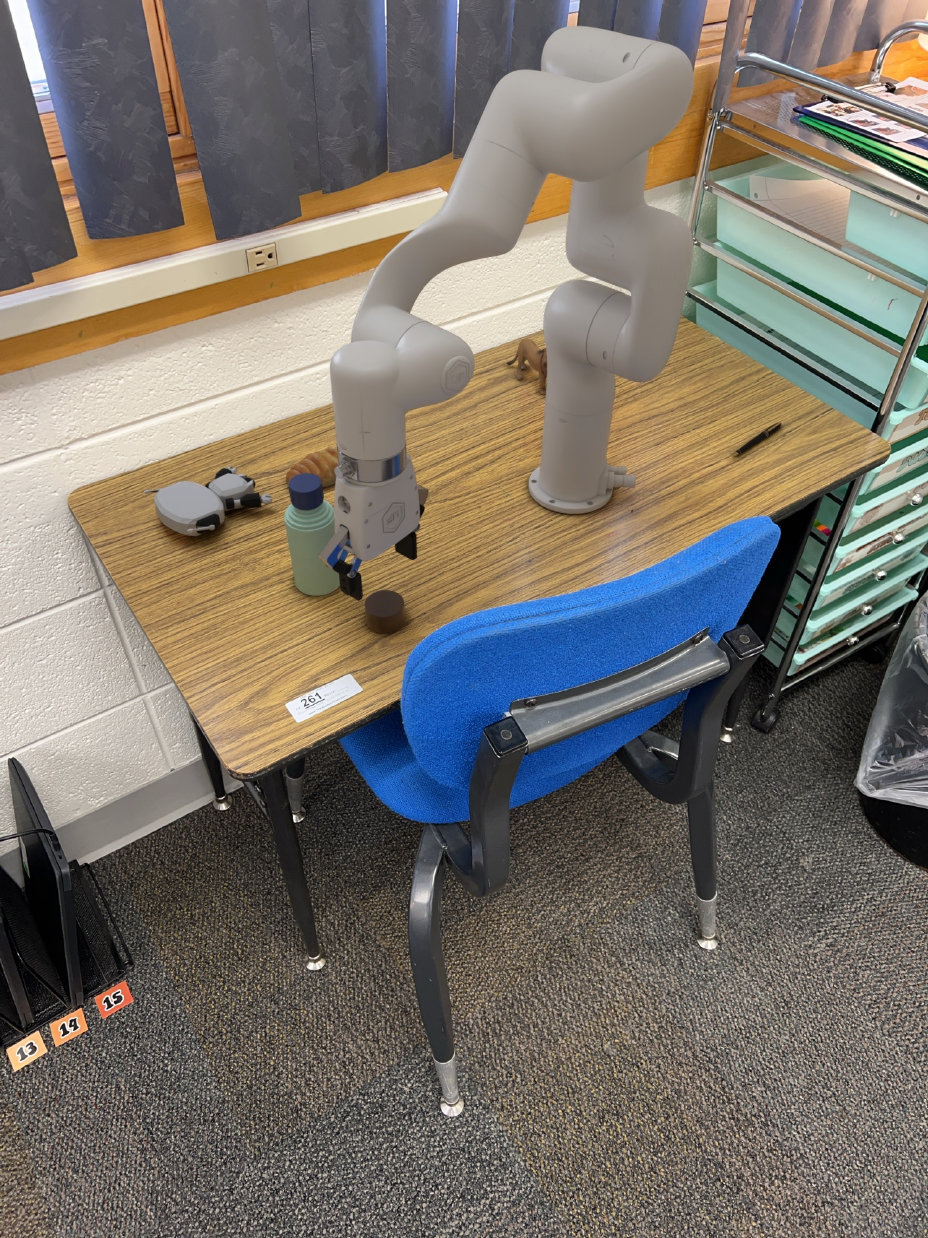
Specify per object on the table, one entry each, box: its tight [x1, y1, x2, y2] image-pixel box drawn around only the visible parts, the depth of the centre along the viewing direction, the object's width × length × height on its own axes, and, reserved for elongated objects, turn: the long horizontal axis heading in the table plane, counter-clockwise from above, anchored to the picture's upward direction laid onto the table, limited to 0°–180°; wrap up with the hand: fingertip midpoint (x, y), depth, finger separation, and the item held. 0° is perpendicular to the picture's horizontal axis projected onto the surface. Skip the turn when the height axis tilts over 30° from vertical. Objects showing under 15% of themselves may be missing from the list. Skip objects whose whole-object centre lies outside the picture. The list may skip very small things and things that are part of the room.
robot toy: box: [142, 466, 273, 537], centre depth 132 cm, size 12×4×15 cm
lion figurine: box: [505, 338, 547, 396], centre depth 157 cm, size 15×5×9 cm, turn 44°
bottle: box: [283, 499, 340, 597], centre depth 118 cm, size 6×6×16 cm
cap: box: [288, 473, 325, 510], centre depth 113 cm, size 4×4×3 cm
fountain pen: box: [731, 421, 782, 458], centre depth 147 cm, size 14×1×2 cm, turn 134°
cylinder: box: [364, 589, 406, 635], centre depth 117 cm, size 5×5×3 cm
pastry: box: [285, 446, 338, 488], centre depth 138 cm, size 9×7×4 cm
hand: (379, 574), depth 112 cm, fingers open, 9 cm apart
